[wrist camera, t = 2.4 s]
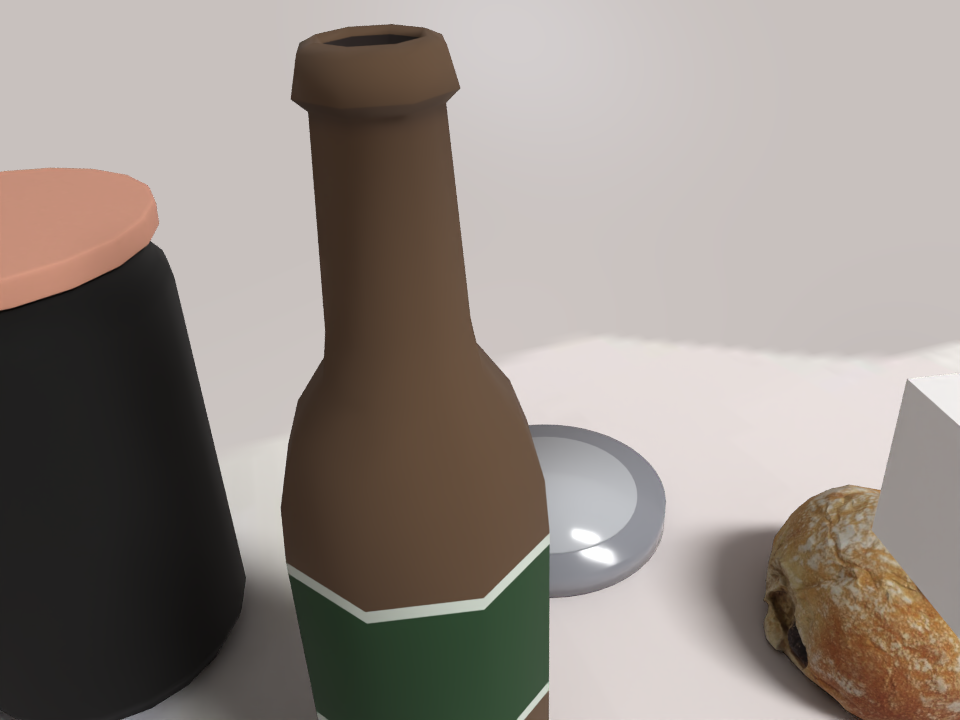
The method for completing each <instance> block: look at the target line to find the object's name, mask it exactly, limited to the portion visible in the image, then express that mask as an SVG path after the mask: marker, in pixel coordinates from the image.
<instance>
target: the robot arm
mask: <svg viewBox="0 0 960 720" xmlns="http://www.w3.org/2000/svg"><path fill="white" fill-rule="evenodd" d="M872 531H873V532H874V534H875V535H876V536H877V537H878V539H879V540H880V541H881V542H882V544H883V545H884V546H885V547H886V549H887V550H888V551H889V552H890V554H891V555H892V556H893V557H894V559H895V560H896V561H897V562H898V563H899V565H900V566H901V567H902V568H903V570H904V571H905V572H906V573H907V575H908V576H909V577H910V578H911V580H912V581H913V582H914V583H915V585H916V586H917V587H918V588H919V590H920V591H921V592H922V593H923V594H924V596H925V597H926V598H927V599H928V601H929V602H930V603H931V604H932V606H933V607H934V608H935V609H936V611H937V612H938V613H939V614H940V616H941V617H942V618H943V619H944V621H945V622H946V623H947V624H948V625H949V627H950V628H951V629H952V630H953V632H954V633H955V634H956V635H957V637H958V638H959V639H960V374H959V373H952V374H944V375H935V376H927V377H918V378H910V379H907V382H906V386H905V390H904V394H903V399H902V403H901V407H900V411H899V416H898V420H897V424H896V428H895V433H894V437H893V441H892V445H891V450H890V454H889V458H888V462H887V467H886V471H885V475H884V479H883V484H882V488H881V492H880V496H879V501H878V505H877V509H876V513H875V518H874V522H873V526H872Z"/></svg>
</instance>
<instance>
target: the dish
mask: <svg viewBox="0 0 960 720" xmlns="http://www.w3.org/2000/svg"><path fill="white" fill-rule="evenodd" d="M528 426H529V429H530V432H531V436H532V439H533V442H534V446H535V449H536V452H537V456H538V459H539V462H540V466H541V469H542V472H543V476H544V479H545V487H546V498H547V509H548V519H549V530H550V574H549V597H568V596H575V595H582V594H587V593H590V592H594V591H598V590H601V589H604V588H607V587H609V586H612V585H614V584H616V583H618V582H620V581H622V580H624V579H626V578H628V577H629V576H631V575H632V574H633V573H635V572H636V571H638V570H639V569H640V568H641V567H642V566H643V565H644V564H645V563H646V562H647V561H648V560H649V559H650V558H651V556H652V555H653V554H654V552H655V551H656V549H657V547H658V545H659V543H660V541H661V537H662V533H663V527H664V517H665V505H666V499H665V491H664V488H663V485H662V482H661V480H660V478H659V476H658V475H657V473H656V471H655V470H654V469H653V467H652V466H651V465H650V464H649V463H648V462H647V461H646V460H645V459H644V458H643V457H642V456H641V455H640V454H638V453H637V452H636V451H634V450H633V449H632V448H630V447H628V446H627V445H625V444H623V443H622V442H620V441H618V440H615V439H613V438H611V437H609V436H606V435H603V434H600V433H598V432H594V431H590V430H586V429H582V428H577V427H571V426H562V425H528Z"/></svg>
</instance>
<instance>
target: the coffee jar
mask: <svg viewBox="0 0 960 720" xmlns="http://www.w3.org/2000/svg"><path fill="white" fill-rule="evenodd" d="M158 225H159V220H158V214H157V206H156V202H155V200H154V197H153V195H152V193H151V190H150V188H149V187H148V185H146V184H144V183H142V182H140V181H138V180H136V179H134V178H132V177H130V176H128V175H124V174H118V173H112V172H107V171H101V170H95V169H74V168H42V169H29V170H15V171H4V172H0V710H2V711H4V712H5V713H7V714H9V715H10V716H12V717H14V718H16V719H18V720H121V719H123V718H126V717H129V716H131V715H134V714H137V713H140V712H142V711H145V710H148V709H150V708H153V707H154V706H156V705H157V704H159V703H160V702H162V701H164V700H165V699H167V698H168V697H170V696H171V695H173V694H175V693H176V692H178V691H179V690H181V689H182V688H184V687H186V686H187V685H189V684H190V682H191V681H192V680H193V679H194V678H195V677H196V676H197V675H198V674H199V673H200V672H201V671H202V670H203V669H204V668H205V667H206V666H207V665H208V664H209V663H210V662H211V661H212V660H213V659H214V658H215V657H216V655H217V654H218V652H219V650H220V648H221V647H222V645H223V644H224V642H225V640H226V638H227V636H228V635H229V633H230V631H231V629H232V627H233V626H234V624H235V622H236V620H237V619H238V617H239V614H240V611H241V608H242V601H243V594H244V588H245V581H246V576H245V572H244V568H243V564H242V560H241V555H240V551H239V547H238V543H237V539H236V534H235V530H234V526H233V522H232V518H231V513H230V509H229V505H228V501H227V497H226V492H225V488H224V484H223V480H222V476H221V471H220V467H219V463H218V459H217V455H216V450H215V446H214V442H213V438H212V434H211V429H210V425H209V421H208V417H207V413H206V409H205V404H204V400H203V396H202V392H201V387H200V383H199V379H198V375H197V371H196V367H195V362H194V358H193V354H192V350H191V345H190V341H189V337H188V334H187V329H186V325H185V320H184V316H183V312H182V308H181V304H180V299H179V295H178V291H177V287H176V283H175V279H174V275H173V273H172V270H171V268H170V265H169V263H168V260H167V258H166V256H165V255H164V252H163V251H162V249H160V248H159V247H158V246H156V245H155V244H153V243H152V242H151V241H150V240H151V238H152V236H153V234H154V233H155V231H156V229H157V227H158Z"/></svg>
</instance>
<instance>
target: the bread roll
mask: <svg viewBox="0 0 960 720" xmlns="http://www.w3.org/2000/svg"><path fill="white" fill-rule="evenodd" d="M880 492H881V490H877V489H871V488H865V487H860V486H854V485H846V486H842V487H837V488H832V489H829V490H827V491H825V492H822V493H820V494H818V495H816V496H814V497H812V498H810V499H808V500H807V501H806V502H805V503H803V504H802V505H801V506H799V507H798V508H797V509H796V510H795V511H794V512H793V513H792V514H791V516H790V517H789V518H788V520H787V521H786V522H785V524H784V525H783V526H782V528H781V529H780V531H779V532H778V533H777V535H776V536H775V538H774V541H773V546H772V552H771V556H770V559H769V563H768V568H767V578H766V594H765V598H764V601H765V602H766V603H768V613H767V615H766V617H765V619H764V624H763V627H764V630H765V635H766V639H767V640H768V641H769V642H770V644H771V645H772V646H773V647H774V648H775V649H776V650H782V651H783V652H784V653H785V654H786V655H787V656H788V657H789V658H790V659H791V661H792V662H793V663H794V664H795V665H796V666H797V667H798V668H799V669H800V670H801V671H802V672H803V673H804V674H805V675H806V676H807V677H808V678H809V679H810V680H812V681H813V682H814V683H816V684H817V685H818V686H819V687H821V688H822V689H823V690H825V691H826V692H827V693H828V694H830V695H831V696H832V697H833V698H835V699H836V700H837V701H838V702H839V703H840V704H841V705H842V706H843V708H844V709H845V710H847V711H848V712H850V713H852V714H854V715H855V716H857V717H859V718H861V719H863V720H960V639H959V638H958V637H957V635H956V634H955V633H954V632H953V630H952V629H951V628H950V627H949V625H948V624H947V623H946V622H945V621H944V619H943V618H942V617H941V616H940V614H939V613H938V612H937V611H936V609H935V608H934V607H933V606H932V604H931V603H930V602H929V601H928V599H927V598H926V597H925V596H924V594H923V593H922V592H921V591H920V590H919V588H918V587H917V586H916V585H915V583H914V582H913V581H912V580H911V578H910V577H909V576H908V575H907V573H906V572H905V571H904V570H903V568H902V567H901V566H900V565H899V563H898V562H897V561H896V560H895V559H894V557H893V556H892V555H891V554H890V552H889V551H888V550H887V549H886V547H885V546H884V545H883V544H882V542H881V541H880V540H879V539H878V537H877V536H876V535H875V534H874V532H873V531H872V526H873V522H874V518H875V513H876V509H877V505H878V501H879V496H880Z"/></svg>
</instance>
